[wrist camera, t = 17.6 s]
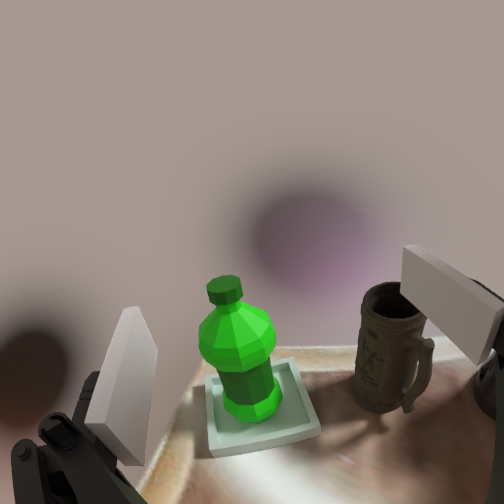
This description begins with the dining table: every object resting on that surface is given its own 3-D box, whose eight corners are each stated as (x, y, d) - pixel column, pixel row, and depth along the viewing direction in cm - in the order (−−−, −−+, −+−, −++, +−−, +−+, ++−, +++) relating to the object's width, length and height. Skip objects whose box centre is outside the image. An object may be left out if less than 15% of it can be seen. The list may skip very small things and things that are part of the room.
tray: (294, 367, 54) (292, 356, 53) (320, 435, 38) (320, 425, 37) (208, 385, 53) (204, 375, 52) (214, 458, 37) (209, 450, 36)
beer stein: (338, 382, 48) (345, 294, 39) (383, 357, 51) (398, 270, 42) (387, 441, 35) (422, 361, 26) (433, 406, 37) (473, 320, 29)
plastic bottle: (294, 393, 47) (278, 266, 37) (269, 440, 38) (237, 314, 29) (244, 381, 51) (213, 261, 42) (215, 422, 43) (165, 300, 33)
